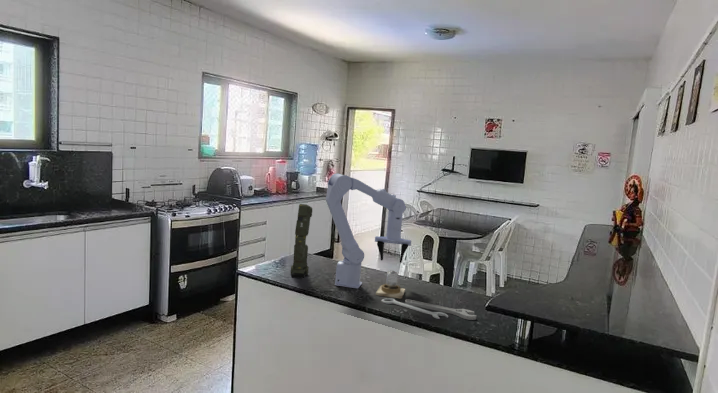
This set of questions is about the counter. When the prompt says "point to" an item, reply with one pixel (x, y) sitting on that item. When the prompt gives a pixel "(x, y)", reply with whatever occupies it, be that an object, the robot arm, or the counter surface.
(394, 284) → the clear glass cylinder
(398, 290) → the socket
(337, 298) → the counter surface
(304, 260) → the mechanical leg
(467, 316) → the adjustable wrench
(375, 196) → the robot arm
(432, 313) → the wrench
